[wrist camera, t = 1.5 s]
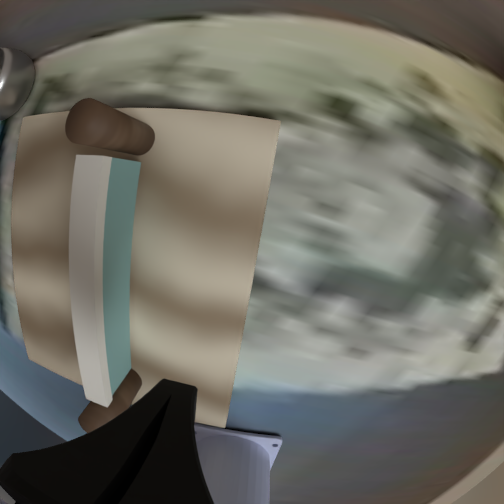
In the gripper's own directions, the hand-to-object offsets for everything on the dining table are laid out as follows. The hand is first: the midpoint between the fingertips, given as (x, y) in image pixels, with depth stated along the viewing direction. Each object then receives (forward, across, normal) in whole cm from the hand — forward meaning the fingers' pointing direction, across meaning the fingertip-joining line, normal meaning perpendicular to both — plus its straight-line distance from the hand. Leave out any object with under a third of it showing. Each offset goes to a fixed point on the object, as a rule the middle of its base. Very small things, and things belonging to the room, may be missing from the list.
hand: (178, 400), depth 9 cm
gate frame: (+9, +8, -1) cm, 12 cm away
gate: (+7, +6, -2) cm, 10 cm away
